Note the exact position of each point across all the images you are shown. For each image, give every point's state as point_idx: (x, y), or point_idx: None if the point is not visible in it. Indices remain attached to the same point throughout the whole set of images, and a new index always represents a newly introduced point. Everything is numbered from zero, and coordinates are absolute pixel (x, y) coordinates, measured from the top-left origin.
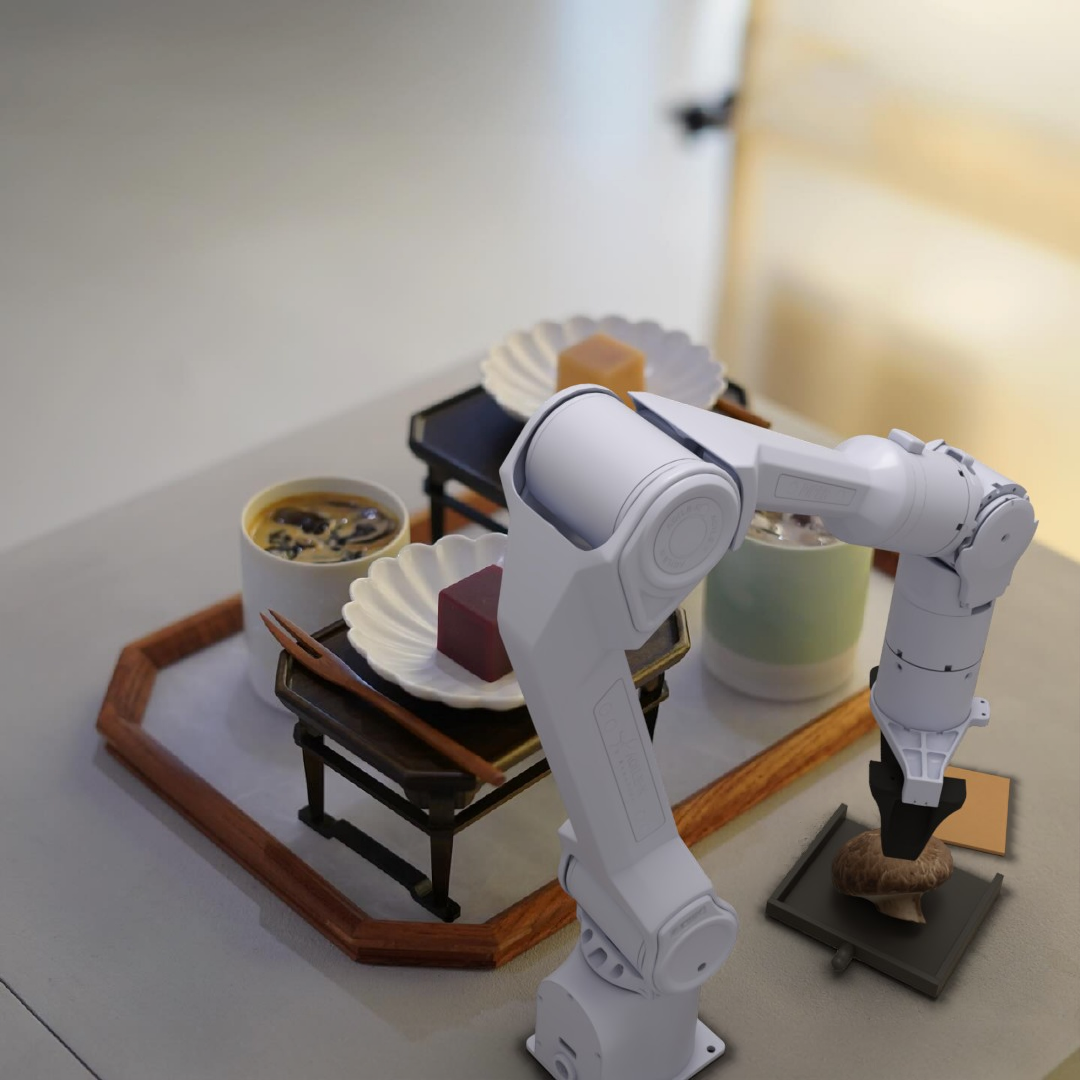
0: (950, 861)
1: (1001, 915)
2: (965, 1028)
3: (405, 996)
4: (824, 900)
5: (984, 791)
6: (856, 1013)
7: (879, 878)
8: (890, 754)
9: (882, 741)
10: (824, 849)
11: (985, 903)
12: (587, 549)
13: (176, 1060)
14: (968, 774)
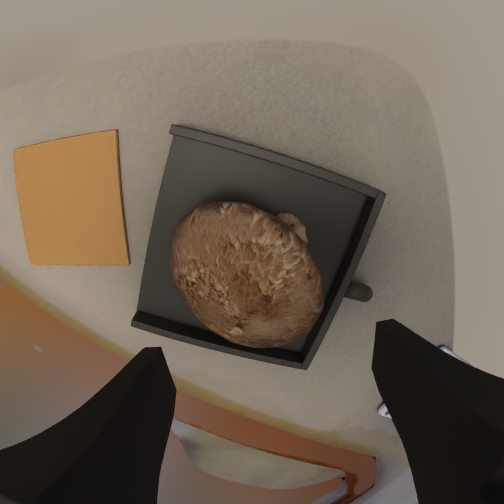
0: (236, 213)
1: (217, 118)
2: (398, 155)
3: (395, 469)
4: None
5: (36, 171)
6: (400, 261)
7: (320, 312)
8: (164, 417)
9: (163, 451)
10: (194, 325)
11: (234, 142)
12: None
13: None
14: (22, 193)
